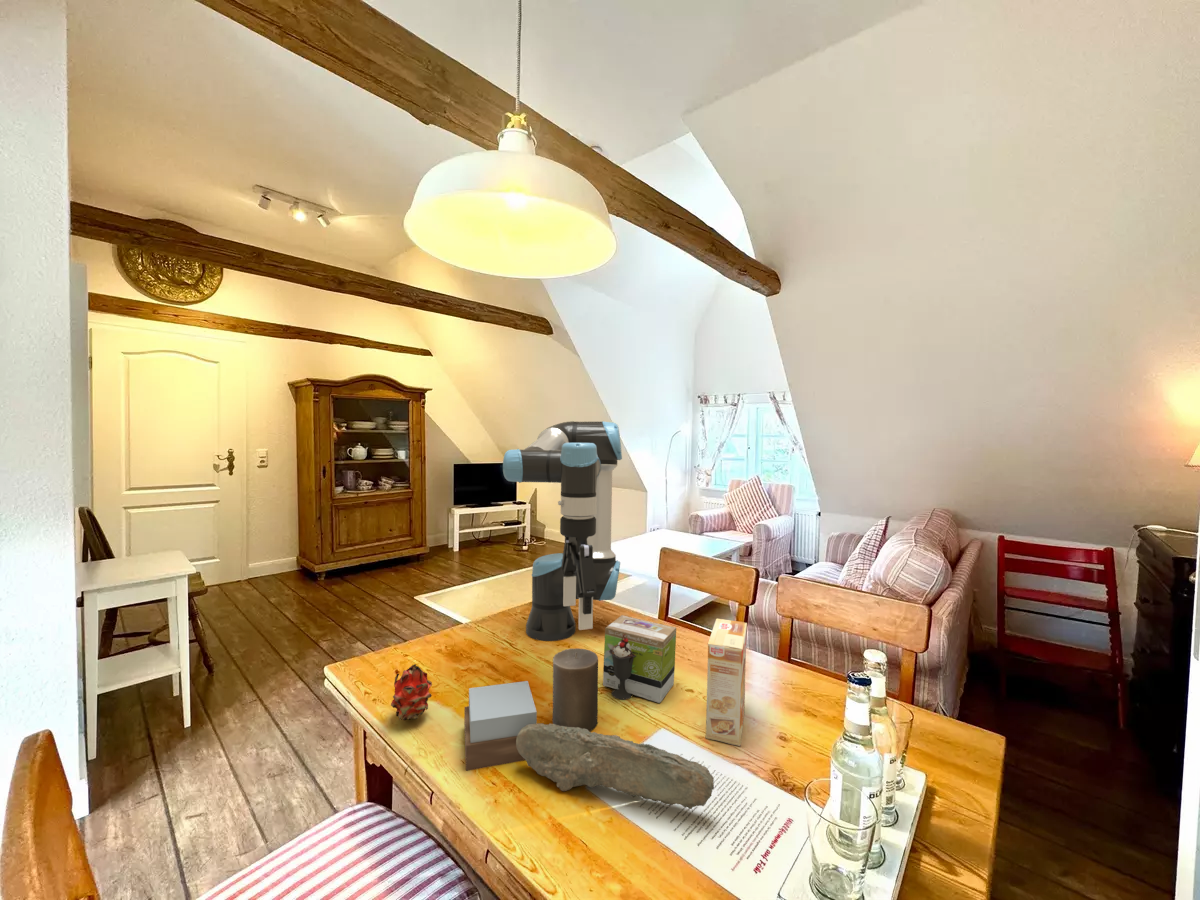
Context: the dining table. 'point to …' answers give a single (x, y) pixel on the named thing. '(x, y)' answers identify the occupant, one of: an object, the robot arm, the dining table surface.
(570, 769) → the long grey stone
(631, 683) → the tea box
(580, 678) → the pillar candle
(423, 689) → the dragon fruit
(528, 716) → the slate block
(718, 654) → the coffeecake box
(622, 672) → the sundae
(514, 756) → the walnut block
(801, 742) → the dining table surface
